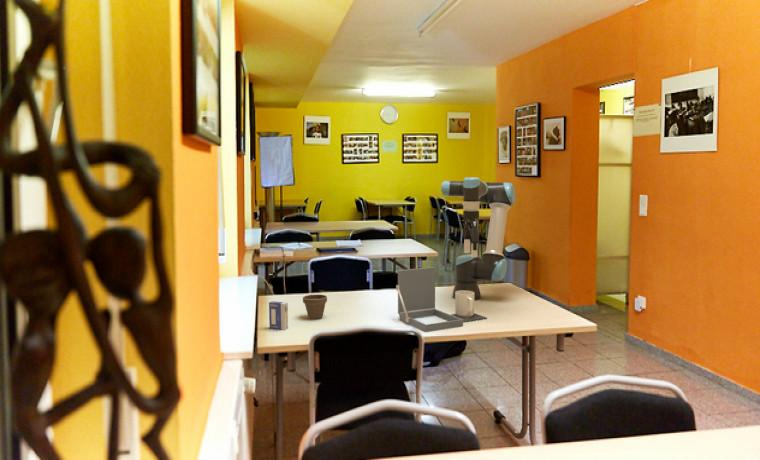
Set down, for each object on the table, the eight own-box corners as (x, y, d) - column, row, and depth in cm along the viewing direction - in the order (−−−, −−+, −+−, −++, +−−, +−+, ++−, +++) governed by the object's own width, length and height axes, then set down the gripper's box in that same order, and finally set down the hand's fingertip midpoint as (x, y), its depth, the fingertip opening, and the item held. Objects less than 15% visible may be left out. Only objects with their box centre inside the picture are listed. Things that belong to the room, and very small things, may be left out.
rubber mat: (444, 316, 279) (444, 315, 279) (470, 312, 286) (470, 311, 286) (460, 323, 267) (460, 321, 267) (487, 318, 274) (487, 317, 274)
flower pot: (298, 317, 279) (298, 296, 278) (319, 313, 286) (318, 292, 285) (311, 322, 270) (310, 300, 269) (331, 318, 277) (331, 297, 276)
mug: (452, 313, 282) (452, 291, 280) (469, 312, 284) (469, 289, 283) (461, 320, 270) (462, 296, 269) (479, 318, 272) (480, 295, 271)
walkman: (269, 328, 259) (268, 301, 258) (272, 326, 262) (272, 300, 261) (285, 330, 257) (284, 303, 255) (288, 328, 259) (287, 301, 258)
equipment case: (396, 319, 274) (396, 270, 271) (433, 314, 283) (433, 267, 281) (423, 332, 253) (423, 279, 250) (462, 326, 262) (463, 275, 260)
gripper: (457, 208, 290) (456, 251, 293) (470, 212, 266) (469, 259, 268) (472, 208, 291) (471, 250, 293) (486, 212, 267) (485, 258, 269)
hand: (470, 254), depth 281 cm, fingers open, 13 cm apart
